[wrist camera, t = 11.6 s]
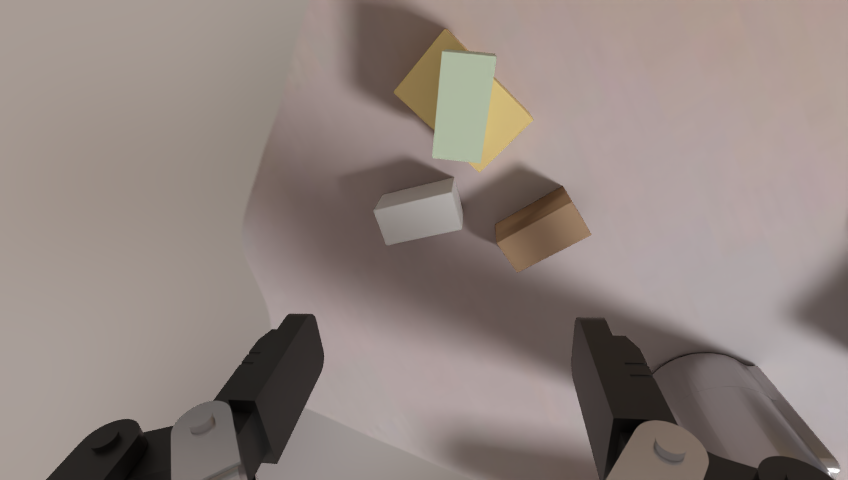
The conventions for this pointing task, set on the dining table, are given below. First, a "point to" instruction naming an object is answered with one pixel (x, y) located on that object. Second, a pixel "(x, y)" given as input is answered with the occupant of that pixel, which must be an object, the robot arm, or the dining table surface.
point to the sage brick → (463, 104)
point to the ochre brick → (423, 96)
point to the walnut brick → (540, 230)
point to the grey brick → (419, 212)
